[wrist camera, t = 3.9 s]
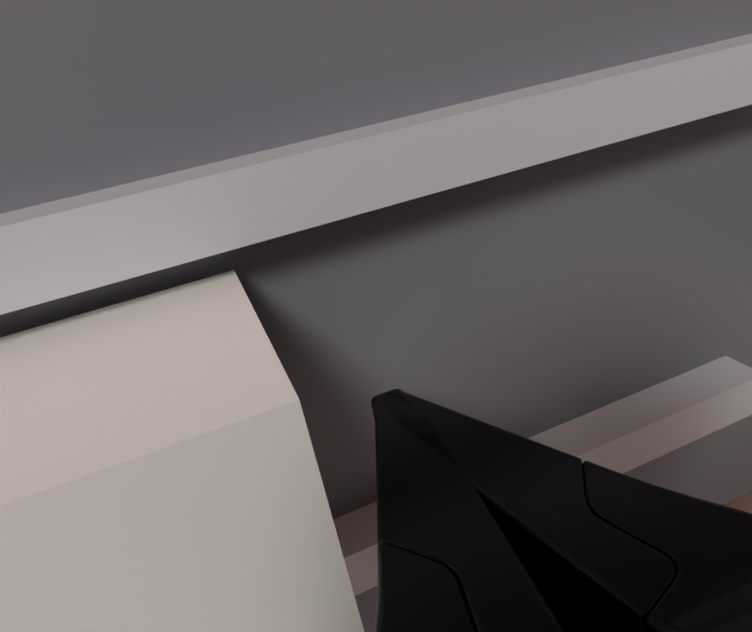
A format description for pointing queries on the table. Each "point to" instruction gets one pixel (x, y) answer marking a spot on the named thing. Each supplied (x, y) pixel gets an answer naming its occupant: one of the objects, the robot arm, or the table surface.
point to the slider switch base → (411, 211)
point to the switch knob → (162, 476)
